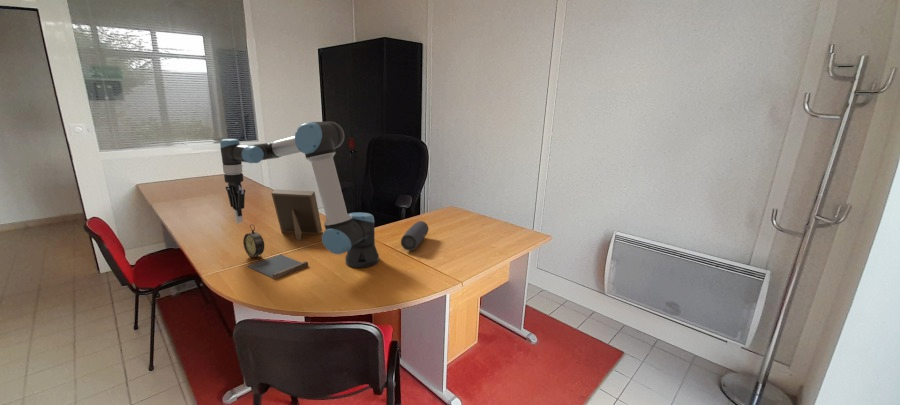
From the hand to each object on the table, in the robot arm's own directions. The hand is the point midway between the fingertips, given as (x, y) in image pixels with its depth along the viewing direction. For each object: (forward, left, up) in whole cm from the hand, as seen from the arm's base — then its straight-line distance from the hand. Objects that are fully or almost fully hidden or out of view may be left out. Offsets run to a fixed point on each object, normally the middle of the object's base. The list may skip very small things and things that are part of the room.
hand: (239, 222), depth 176 cm
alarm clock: (-11, 0, -15) cm, 19 cm away
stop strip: (-38, 0, -15) cm, 41 cm away
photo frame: (-1, -29, -15) cm, 33 cm away
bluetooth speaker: (-61, -57, -15) cm, 85 cm away
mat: (-28, 0, -15) cm, 32 cm away
